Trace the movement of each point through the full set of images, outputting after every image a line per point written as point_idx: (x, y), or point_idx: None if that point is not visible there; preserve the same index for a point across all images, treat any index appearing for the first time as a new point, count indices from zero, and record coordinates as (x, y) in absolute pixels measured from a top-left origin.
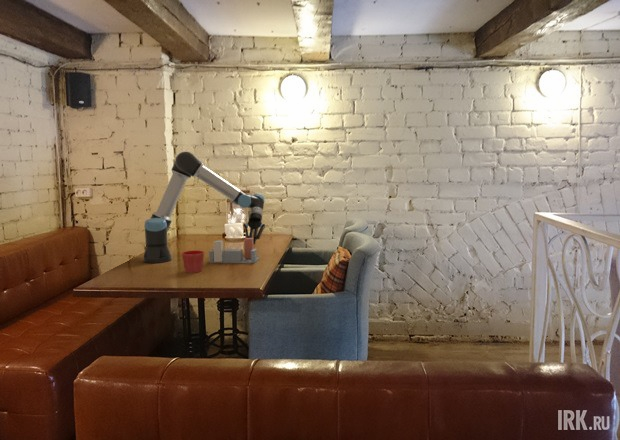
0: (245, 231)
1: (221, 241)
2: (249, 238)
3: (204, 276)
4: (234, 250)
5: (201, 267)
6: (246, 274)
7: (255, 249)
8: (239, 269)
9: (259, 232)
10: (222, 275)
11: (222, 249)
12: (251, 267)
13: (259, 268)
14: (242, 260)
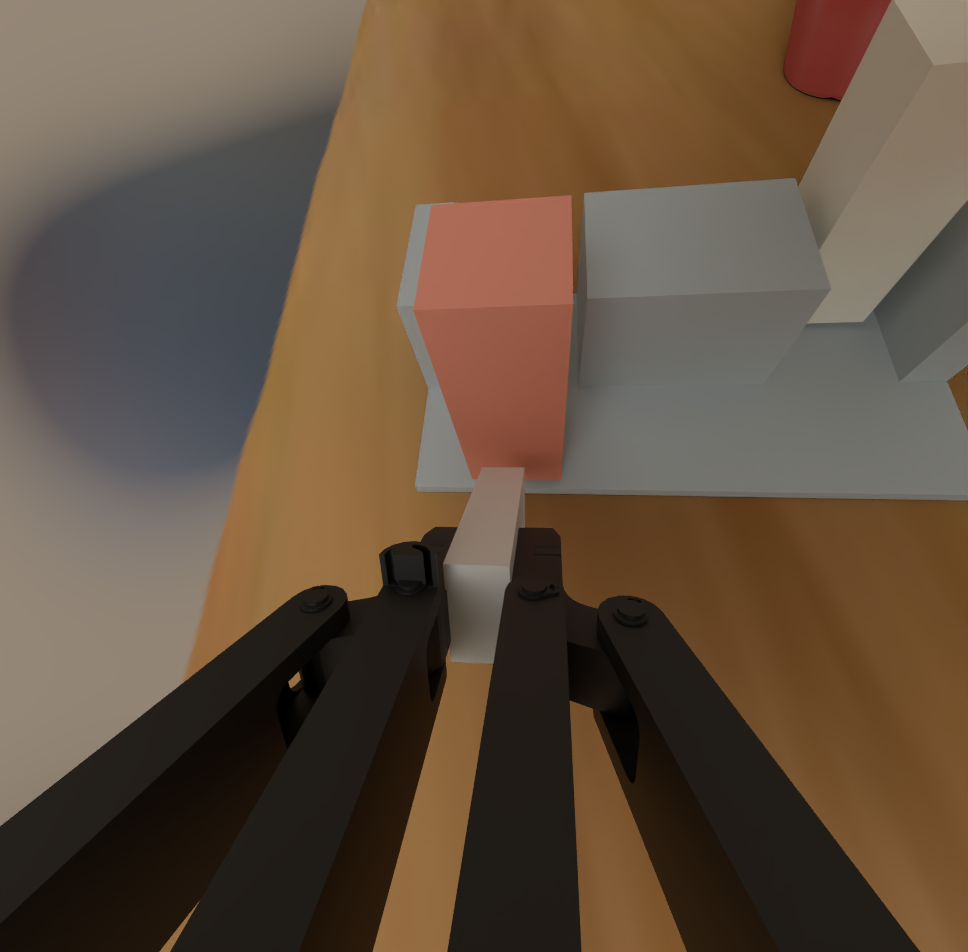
0: (804, 801)
1: (900, 15)
2: (484, 252)
3: (691, 9)
4: (663, 211)
5: (790, 39)
6: (461, 63)
7: (411, 275)
8: (527, 138)
9: (192, 700)
10: (593, 34)
11: (833, 181)
12: (453, 186)
13: (396, 170)
14: (571, 349)
